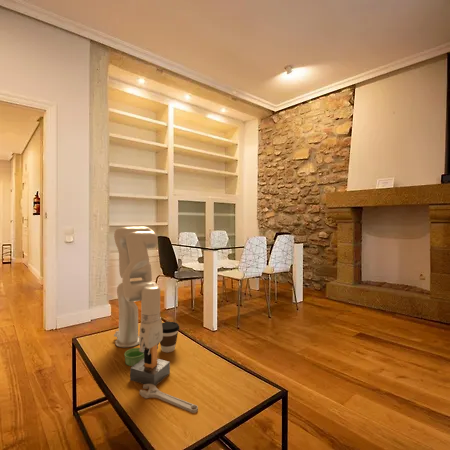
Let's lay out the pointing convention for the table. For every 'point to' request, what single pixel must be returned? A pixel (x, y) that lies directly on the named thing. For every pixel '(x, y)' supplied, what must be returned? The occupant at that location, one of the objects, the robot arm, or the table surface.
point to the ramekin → (133, 356)
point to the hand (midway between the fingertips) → (150, 360)
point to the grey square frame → (150, 372)
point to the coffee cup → (169, 336)
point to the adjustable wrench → (166, 398)
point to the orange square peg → (152, 357)
